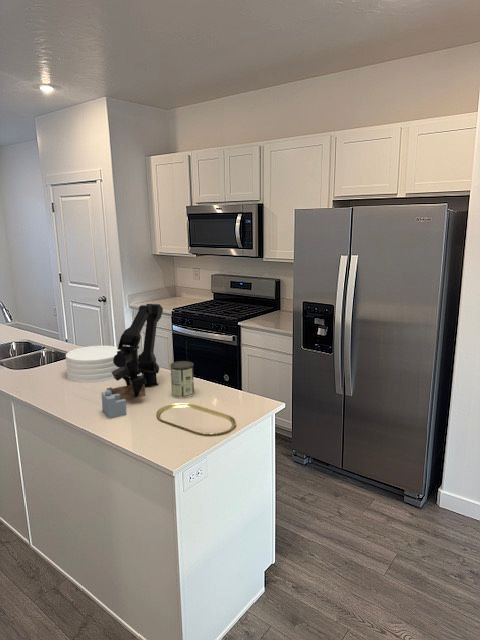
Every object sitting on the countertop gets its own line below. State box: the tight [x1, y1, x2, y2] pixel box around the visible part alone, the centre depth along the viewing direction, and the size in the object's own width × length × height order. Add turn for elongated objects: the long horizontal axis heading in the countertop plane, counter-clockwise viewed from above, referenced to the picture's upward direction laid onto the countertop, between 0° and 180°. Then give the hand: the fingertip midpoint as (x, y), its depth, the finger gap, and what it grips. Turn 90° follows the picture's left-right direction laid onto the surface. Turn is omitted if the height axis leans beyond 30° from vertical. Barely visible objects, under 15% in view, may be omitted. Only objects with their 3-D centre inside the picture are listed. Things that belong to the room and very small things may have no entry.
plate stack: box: [65, 345, 120, 384], centre depth 228 cm, size 28×28×12 cm
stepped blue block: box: [100, 389, 127, 419], centre depth 179 cm, size 7×9×10 cm
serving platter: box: [156, 402, 237, 436], centre depth 173 cm, size 19×35×2 cm, turn 54°
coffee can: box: [169, 360, 195, 399], centre depth 199 cm, size 10×10×14 cm
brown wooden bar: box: [106, 384, 146, 401], centre depth 195 cm, size 16×4×6 cm, turn 123°
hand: (133, 394), depth 197 cm, fingers open, 8 cm apart
